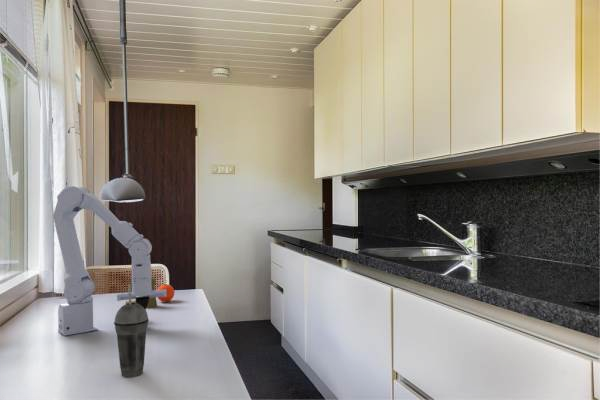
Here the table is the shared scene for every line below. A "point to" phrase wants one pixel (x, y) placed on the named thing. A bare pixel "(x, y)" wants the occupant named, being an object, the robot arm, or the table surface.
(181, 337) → the table surface
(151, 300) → the cork
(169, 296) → the clementine
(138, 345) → the beverage cup
